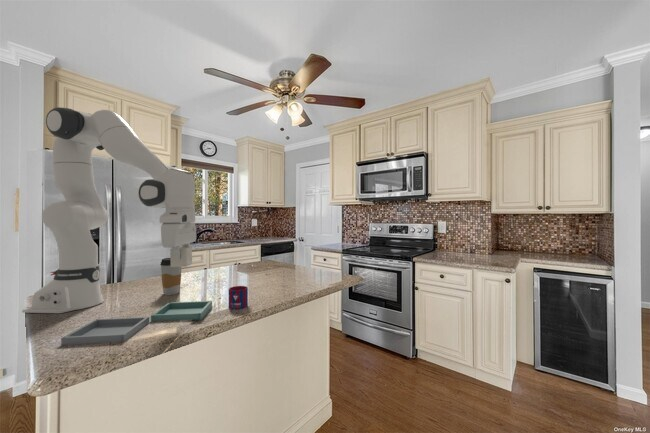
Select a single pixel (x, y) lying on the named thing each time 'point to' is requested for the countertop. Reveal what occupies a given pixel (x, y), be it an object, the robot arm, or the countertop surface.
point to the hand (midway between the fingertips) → (181, 258)
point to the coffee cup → (170, 277)
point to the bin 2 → (182, 311)
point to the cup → (238, 297)
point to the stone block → (182, 257)
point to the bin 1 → (106, 331)
